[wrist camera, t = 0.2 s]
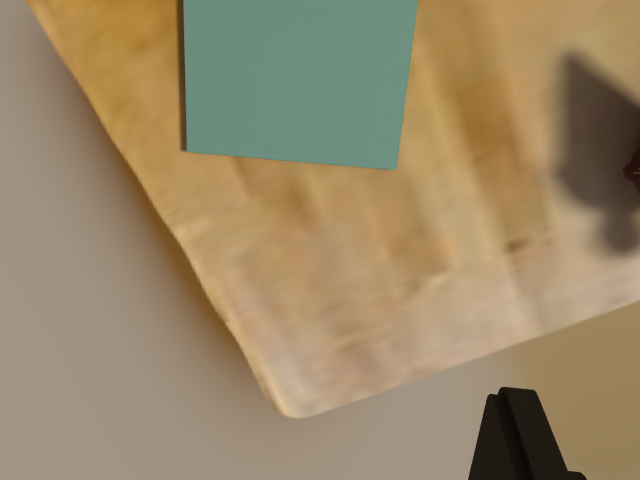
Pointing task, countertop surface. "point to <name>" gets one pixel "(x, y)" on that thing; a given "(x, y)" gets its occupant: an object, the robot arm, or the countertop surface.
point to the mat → (298, 79)
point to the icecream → (634, 169)
